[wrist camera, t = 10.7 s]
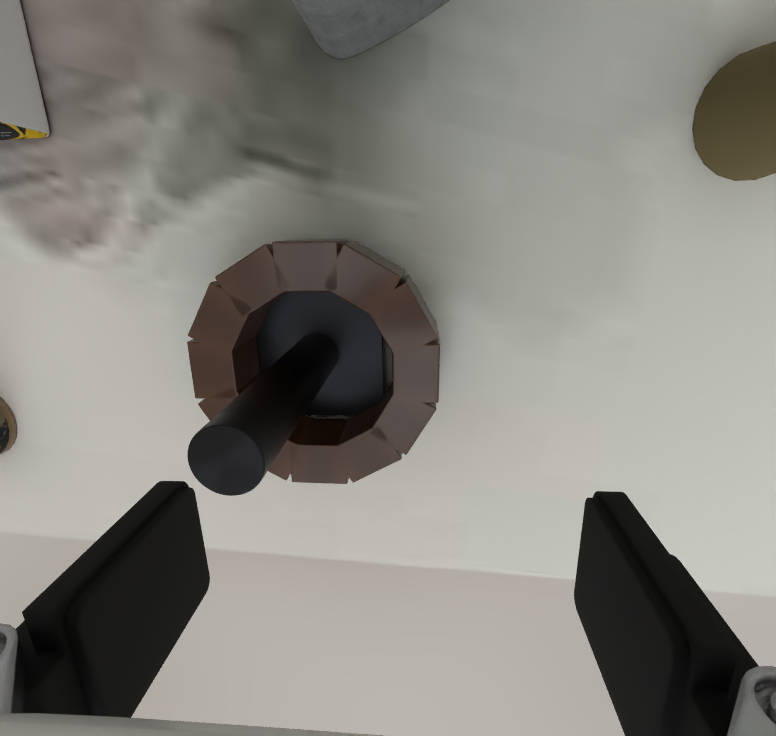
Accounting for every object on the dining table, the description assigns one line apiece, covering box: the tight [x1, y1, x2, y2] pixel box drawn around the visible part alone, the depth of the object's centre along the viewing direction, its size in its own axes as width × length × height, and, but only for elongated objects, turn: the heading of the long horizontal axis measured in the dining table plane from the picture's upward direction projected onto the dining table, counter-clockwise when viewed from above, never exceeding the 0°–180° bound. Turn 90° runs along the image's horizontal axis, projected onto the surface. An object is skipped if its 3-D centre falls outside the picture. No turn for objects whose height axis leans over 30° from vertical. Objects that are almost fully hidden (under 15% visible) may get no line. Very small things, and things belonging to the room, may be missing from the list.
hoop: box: [187, 239, 440, 484], centre depth 25 cm, size 13×13×4 cm
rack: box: [188, 292, 386, 496], centre depth 21 cm, size 8×8×14 cm
